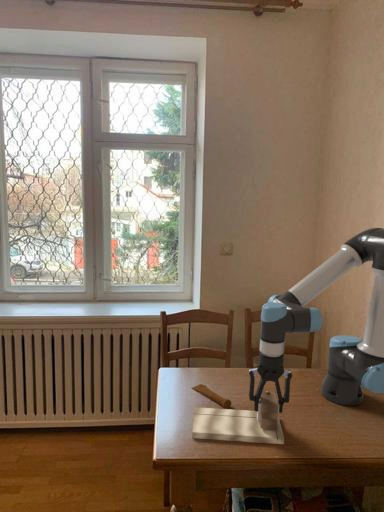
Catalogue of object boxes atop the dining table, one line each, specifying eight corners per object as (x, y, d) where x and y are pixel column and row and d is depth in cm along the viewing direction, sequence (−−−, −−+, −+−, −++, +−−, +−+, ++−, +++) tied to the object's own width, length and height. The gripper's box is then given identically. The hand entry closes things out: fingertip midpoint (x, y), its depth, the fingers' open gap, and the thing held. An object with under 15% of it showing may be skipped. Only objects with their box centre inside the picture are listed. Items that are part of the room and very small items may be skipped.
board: (277, 417, 130) (277, 412, 130) (283, 444, 117) (284, 438, 116) (194, 412, 132) (195, 407, 132) (192, 438, 118) (192, 432, 118)
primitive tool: (190, 389, 149) (190, 380, 148) (201, 385, 152) (201, 376, 152) (224, 411, 134) (225, 402, 133) (235, 406, 137) (236, 397, 137)
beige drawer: (273, 414, 127) (274, 390, 126) (277, 429, 119) (278, 403, 118) (258, 413, 127) (259, 389, 126) (260, 428, 120) (262, 402, 118)
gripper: (298, 348, 123) (293, 415, 126) (241, 346, 124) (238, 412, 128) (303, 358, 115) (298, 429, 119) (243, 355, 116) (239, 425, 120)
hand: (267, 420), depth 123 cm, fingers closed on beige drawer, 5 cm apart
